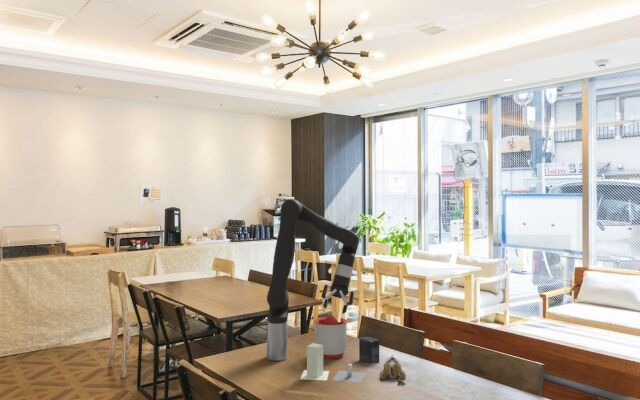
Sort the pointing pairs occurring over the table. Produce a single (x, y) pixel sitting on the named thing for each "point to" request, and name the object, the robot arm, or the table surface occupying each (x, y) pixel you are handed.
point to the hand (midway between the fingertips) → (334, 311)
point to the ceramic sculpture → (392, 369)
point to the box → (369, 350)
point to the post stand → (349, 375)
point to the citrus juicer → (331, 336)
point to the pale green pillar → (314, 360)
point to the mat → (322, 377)
